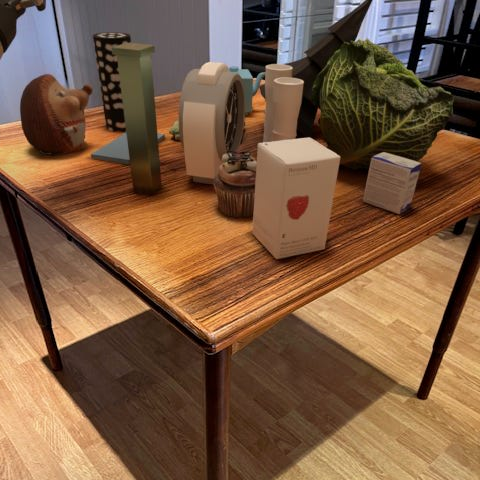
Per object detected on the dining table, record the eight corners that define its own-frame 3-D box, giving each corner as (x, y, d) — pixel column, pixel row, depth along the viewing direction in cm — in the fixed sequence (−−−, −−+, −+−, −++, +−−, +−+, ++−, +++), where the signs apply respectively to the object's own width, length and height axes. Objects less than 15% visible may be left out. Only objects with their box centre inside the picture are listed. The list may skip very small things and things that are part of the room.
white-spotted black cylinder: (123, 119, 123) (112, 31, 110) (146, 126, 119) (138, 35, 107) (99, 127, 118) (84, 35, 105) (122, 134, 114) (110, 39, 101)
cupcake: (274, 216, 82) (279, 160, 76) (221, 222, 80) (221, 165, 74) (257, 194, 89) (260, 140, 83) (208, 199, 87) (207, 144, 81)
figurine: (103, 156, 102) (91, 81, 93) (26, 162, 99) (5, 84, 89) (99, 135, 113) (88, 65, 103) (30, 139, 109) (11, 68, 100)
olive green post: (153, 196, 87) (140, 50, 72) (129, 192, 88) (111, 47, 73) (165, 186, 91) (154, 45, 76) (142, 182, 92) (126, 42, 77)
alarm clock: (220, 193, 89) (220, 76, 76) (178, 187, 91) (171, 72, 78) (245, 161, 102) (248, 56, 90) (208, 156, 104) (206, 53, 91)
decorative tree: (300, 154, 116) (409, 20, 100) (254, 117, 110) (362, -32, 93) (290, 134, 127) (386, 11, 111) (247, 100, 121) (343, -36, 105)
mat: (128, 164, 99) (128, 159, 99) (91, 158, 101) (90, 153, 101) (165, 138, 113) (164, 134, 112) (131, 133, 115) (130, 129, 114)
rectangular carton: (275, 261, 71) (284, 163, 61) (250, 234, 77) (255, 141, 68) (326, 250, 74) (342, 155, 64) (299, 224, 80) (309, 135, 71)
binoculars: (295, 182, 94) (306, 84, 83) (269, 182, 94) (276, 84, 83) (282, 151, 108) (290, 64, 96) (259, 151, 107) (264, 63, 96)
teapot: (202, 104, 137) (201, 60, 130) (262, 104, 138) (265, 61, 131) (204, 120, 124) (203, 73, 117) (271, 120, 126) (274, 73, 119)
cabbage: (403, 212, 100) (474, 113, 82) (296, 186, 95) (347, 75, 77) (382, 144, 115) (438, 49, 97) (288, 119, 110) (330, 13, 92)
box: (411, 208, 87) (423, 162, 81) (399, 215, 84) (411, 168, 79) (373, 194, 91) (383, 150, 85) (361, 201, 88) (370, 156, 83)
